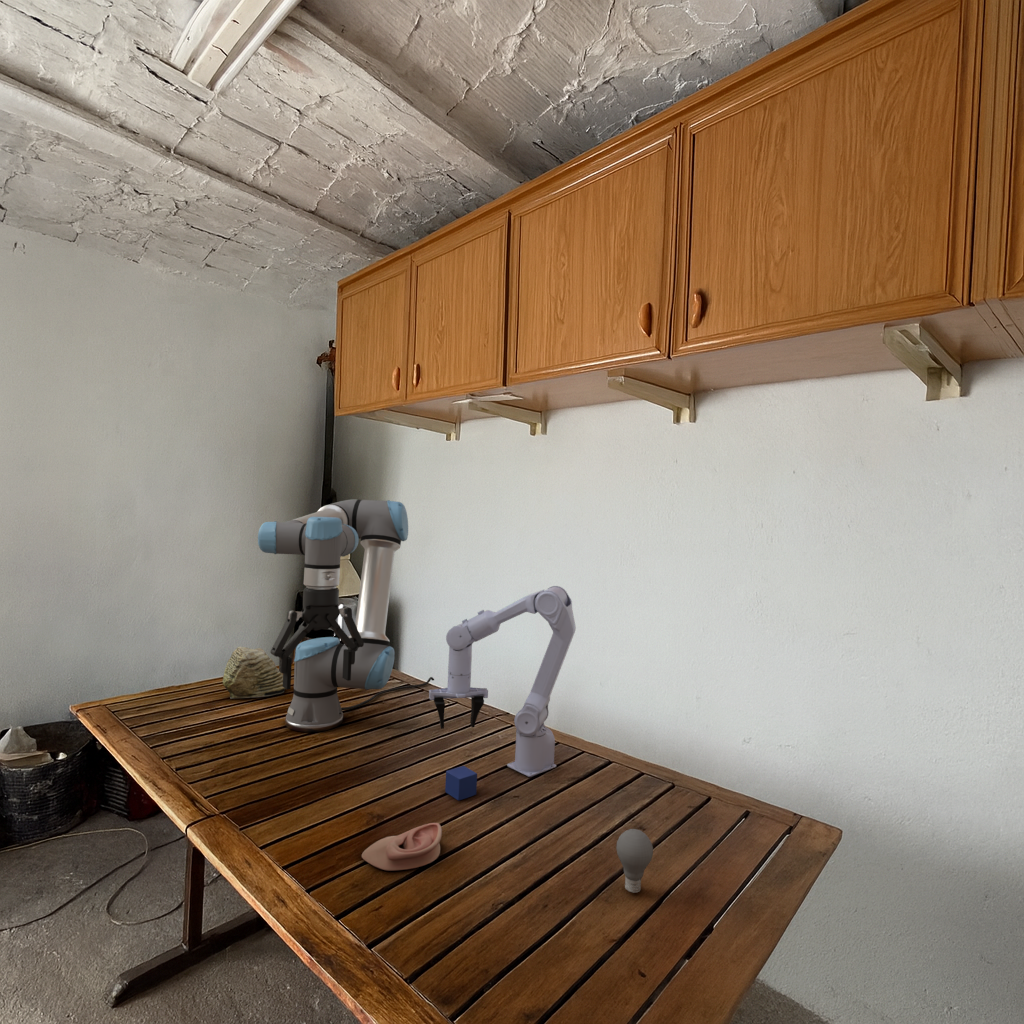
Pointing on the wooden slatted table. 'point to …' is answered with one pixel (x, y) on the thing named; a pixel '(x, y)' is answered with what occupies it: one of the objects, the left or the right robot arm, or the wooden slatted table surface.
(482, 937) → the wooden slatted table surface
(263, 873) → the wooden slatted table surface
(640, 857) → the light bulb
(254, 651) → the fossil
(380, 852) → the anatomical model
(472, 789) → the blue cube
